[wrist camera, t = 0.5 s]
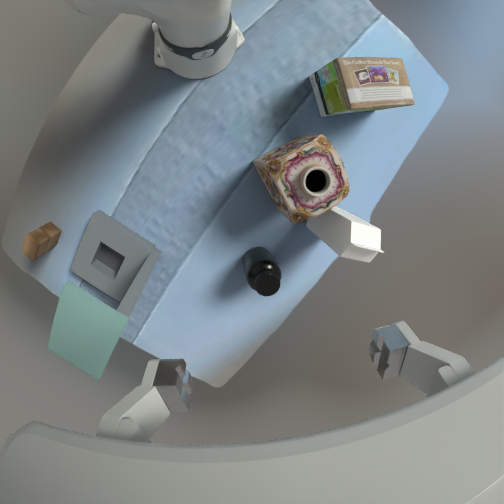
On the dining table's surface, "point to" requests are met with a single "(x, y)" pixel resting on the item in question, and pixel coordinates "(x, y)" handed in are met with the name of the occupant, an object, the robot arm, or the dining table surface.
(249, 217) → the dining table surface
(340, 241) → the milk
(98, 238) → the socket stand
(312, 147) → the decorative jar
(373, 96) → the tea box
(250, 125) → the dining table surface
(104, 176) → the dining table surface
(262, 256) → the supplement bottle
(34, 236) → the walnut peg
